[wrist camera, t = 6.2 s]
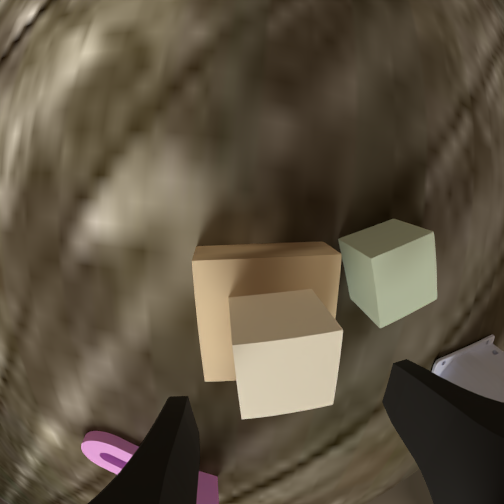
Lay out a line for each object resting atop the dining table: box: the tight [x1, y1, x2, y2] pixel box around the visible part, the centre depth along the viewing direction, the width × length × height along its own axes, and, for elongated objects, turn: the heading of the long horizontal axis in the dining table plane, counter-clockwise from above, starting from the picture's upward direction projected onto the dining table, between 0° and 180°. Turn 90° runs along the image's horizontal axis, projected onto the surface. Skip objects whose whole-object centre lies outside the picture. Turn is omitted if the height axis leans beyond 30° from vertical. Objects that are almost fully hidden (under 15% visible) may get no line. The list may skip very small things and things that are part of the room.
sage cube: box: [338, 219, 437, 328], centre depth 15 cm, size 4×4×4 cm
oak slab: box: [192, 242, 342, 382], centre depth 15 cm, size 7×7×3 cm
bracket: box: [81, 431, 219, 504], centre depth 17 cm, size 13×6×7 cm, turn 51°
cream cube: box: [228, 289, 343, 419], centre depth 12 cm, size 4×4×4 cm
